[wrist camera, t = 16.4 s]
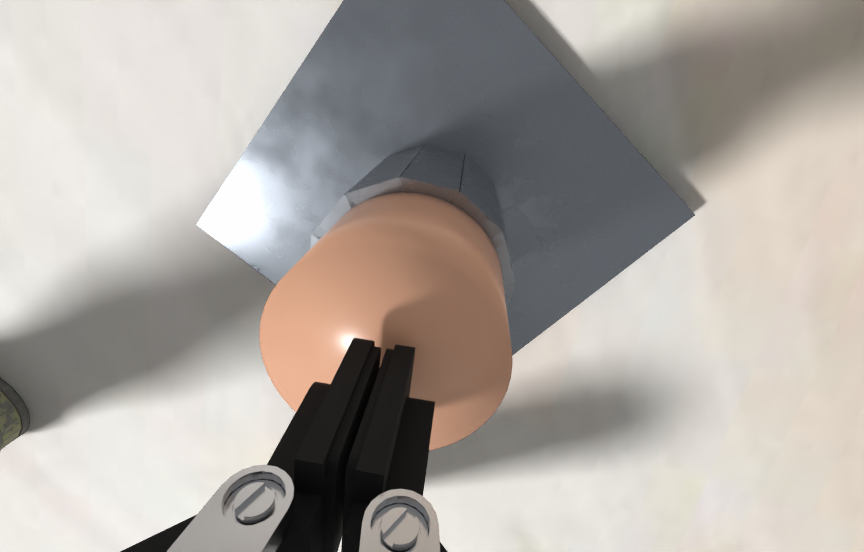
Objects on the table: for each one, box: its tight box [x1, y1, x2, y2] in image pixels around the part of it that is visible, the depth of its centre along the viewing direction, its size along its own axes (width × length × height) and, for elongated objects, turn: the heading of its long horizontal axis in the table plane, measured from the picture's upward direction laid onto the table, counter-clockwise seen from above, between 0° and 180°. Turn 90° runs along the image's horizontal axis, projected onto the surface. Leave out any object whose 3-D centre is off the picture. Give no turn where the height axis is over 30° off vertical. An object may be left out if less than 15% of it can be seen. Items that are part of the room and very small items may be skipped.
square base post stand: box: [197, 0, 695, 355], centre depth 20 cm, size 20×20×9 cm
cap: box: [259, 192, 512, 450], centre depth 17 cm, size 7×7×11 cm
